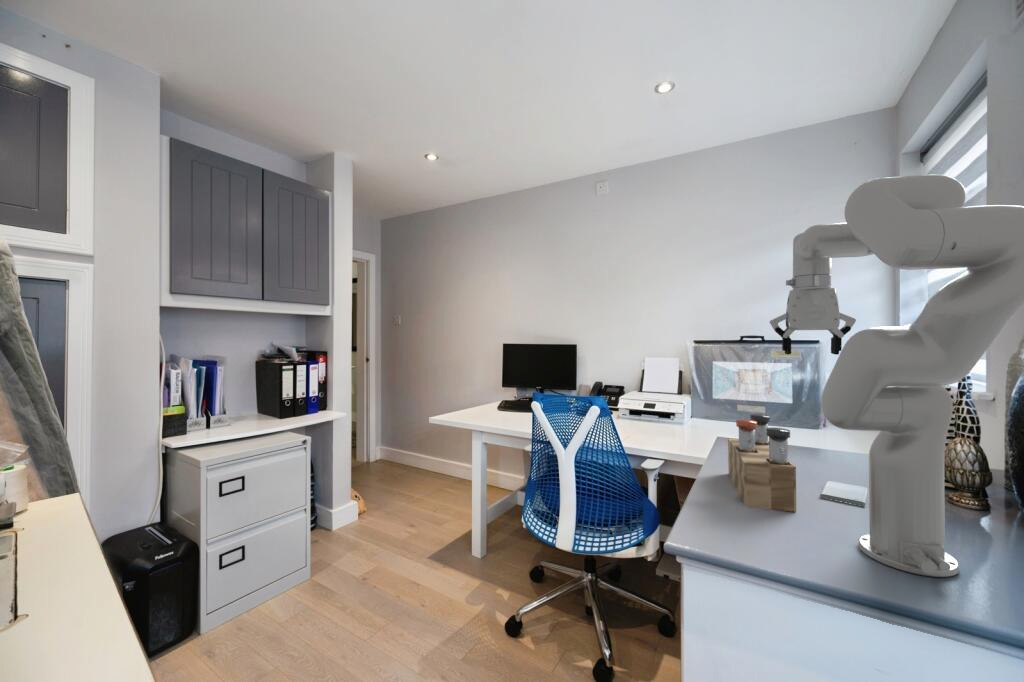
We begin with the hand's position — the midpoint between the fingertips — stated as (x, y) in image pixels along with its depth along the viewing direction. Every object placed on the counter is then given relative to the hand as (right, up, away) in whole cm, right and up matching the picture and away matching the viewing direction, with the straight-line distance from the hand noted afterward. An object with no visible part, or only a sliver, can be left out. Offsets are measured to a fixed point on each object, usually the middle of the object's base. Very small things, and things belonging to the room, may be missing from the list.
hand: (810, 353), depth 101 cm
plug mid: (-13, -29, +4) cm, 32 cm away
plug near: (-12, -29, -6) cm, 32 cm away
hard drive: (+8, -35, 0) cm, 36 cm away
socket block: (-11, -35, +3) cm, 36 cm away
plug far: (-6, -29, +11) cm, 31 cm away
